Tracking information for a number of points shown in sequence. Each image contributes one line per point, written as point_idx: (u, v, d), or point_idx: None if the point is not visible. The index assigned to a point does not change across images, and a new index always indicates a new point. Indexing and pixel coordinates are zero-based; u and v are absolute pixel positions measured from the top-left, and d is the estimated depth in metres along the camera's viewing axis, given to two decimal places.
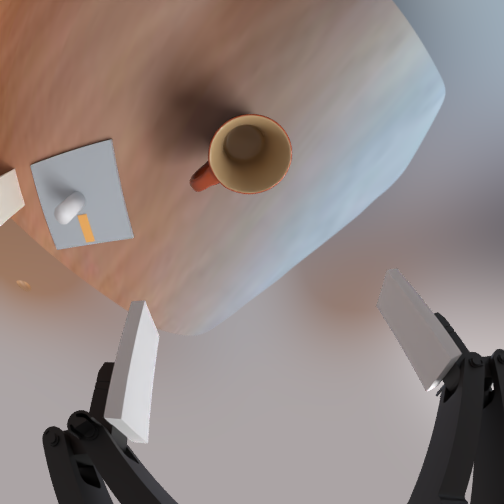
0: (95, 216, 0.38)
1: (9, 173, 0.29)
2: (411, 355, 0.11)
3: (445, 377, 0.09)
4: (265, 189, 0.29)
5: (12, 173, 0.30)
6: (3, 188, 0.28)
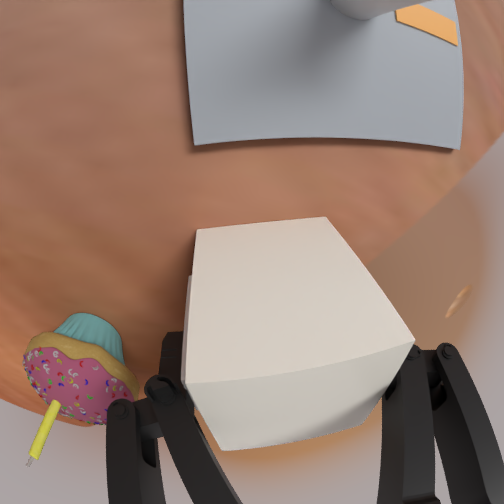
0: None
1: (200, 246, 0.13)
2: None
3: None
4: None
5: (206, 237, 0.13)
6: (244, 274, 0.11)
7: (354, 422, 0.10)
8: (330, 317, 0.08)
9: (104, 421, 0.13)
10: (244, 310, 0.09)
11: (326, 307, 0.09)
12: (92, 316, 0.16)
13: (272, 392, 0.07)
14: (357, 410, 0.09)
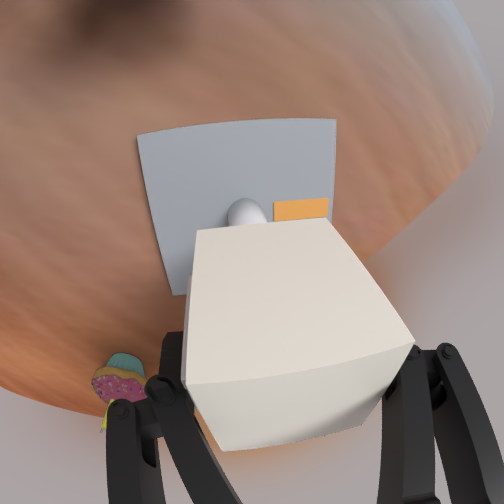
0: (281, 183, 0.22)
1: (200, 247, 0.13)
2: None
3: None
4: None
5: (206, 238, 0.13)
6: (245, 275, 0.11)
7: (354, 422, 0.10)
8: (330, 317, 0.08)
9: None
10: (244, 311, 0.09)
11: (327, 308, 0.09)
12: (127, 354, 0.32)
13: (272, 393, 0.07)
14: (357, 411, 0.09)
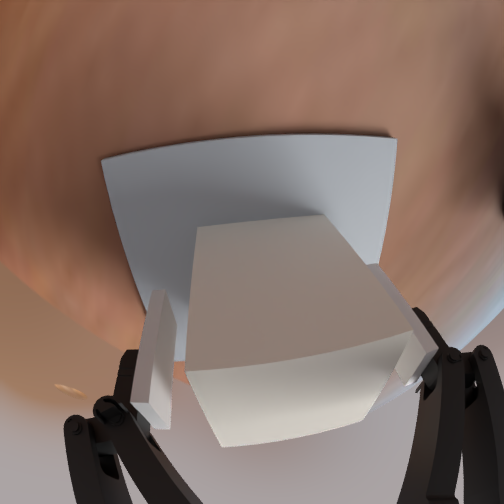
0: None
1: (201, 242, 0.13)
2: None
3: (423, 372, 0.10)
4: None
5: (207, 234, 0.14)
6: (244, 268, 0.11)
7: (354, 417, 0.10)
8: (328, 307, 0.09)
9: None
10: (243, 301, 0.09)
11: (325, 298, 0.09)
12: None
13: (271, 382, 0.07)
14: (357, 404, 0.10)
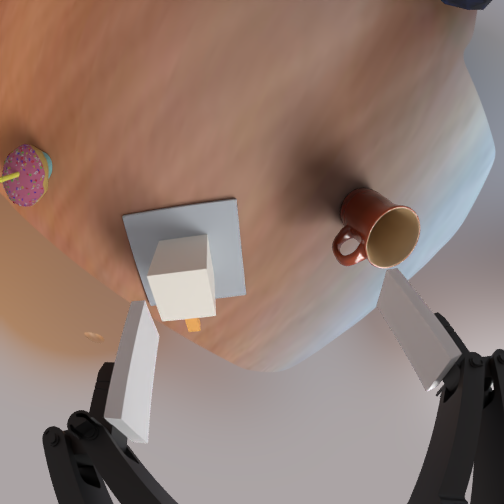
0: None
1: (158, 246, 0.36)
2: (411, 355, 0.11)
3: (445, 377, 0.09)
4: (397, 263, 0.33)
5: (161, 243, 0.36)
6: (169, 253, 0.34)
7: (209, 311, 0.33)
8: (186, 263, 0.31)
9: (11, 195, 0.24)
10: (165, 262, 0.32)
11: (186, 261, 0.32)
12: (51, 170, 0.29)
13: (168, 281, 0.30)
14: (205, 301, 0.32)
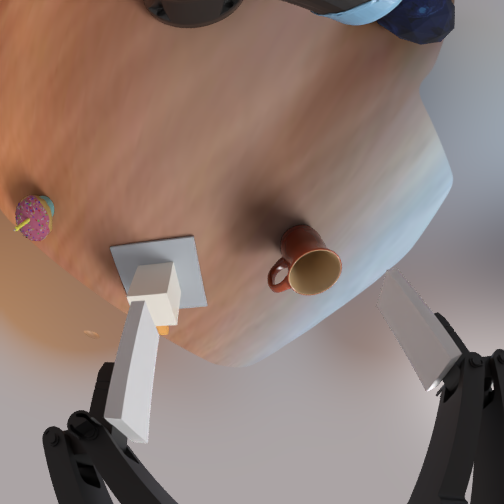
0: None
1: (137, 271, 0.46)
2: (411, 355, 0.11)
3: (445, 377, 0.09)
4: (321, 291, 0.43)
5: (139, 268, 0.47)
6: (143, 278, 0.44)
7: (172, 321, 0.44)
8: (154, 287, 0.42)
9: (25, 233, 0.34)
10: (140, 285, 0.42)
11: (154, 285, 0.42)
12: (53, 211, 0.40)
13: (141, 300, 0.41)
14: (168, 314, 0.43)
